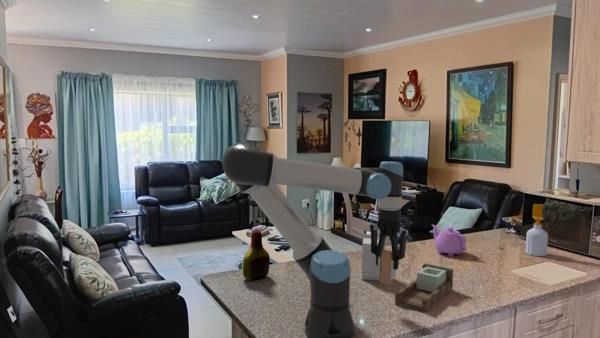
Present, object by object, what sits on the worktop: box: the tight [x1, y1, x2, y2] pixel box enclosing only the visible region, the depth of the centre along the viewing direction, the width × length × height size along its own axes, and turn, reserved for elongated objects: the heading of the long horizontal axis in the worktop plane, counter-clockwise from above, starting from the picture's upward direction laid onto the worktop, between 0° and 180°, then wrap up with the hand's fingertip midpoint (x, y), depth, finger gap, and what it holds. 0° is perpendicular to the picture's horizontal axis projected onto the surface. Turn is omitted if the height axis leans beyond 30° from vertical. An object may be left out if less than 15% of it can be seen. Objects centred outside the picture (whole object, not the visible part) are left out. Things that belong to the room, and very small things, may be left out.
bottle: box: [241, 228, 271, 281], centre depth 181 cm, size 12×6×20 cm, turn 120°
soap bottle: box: [525, 203, 549, 257], centre depth 217 cm, size 9×9×25 cm
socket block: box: [416, 267, 447, 292], centre depth 168 cm, size 9×8×6 cm
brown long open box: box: [394, 263, 454, 313], centre depth 163 cm, size 26×11×8 cm, turn 142°
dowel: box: [379, 248, 393, 286], centre depth 152 cm, size 4×4×11 cm
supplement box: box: [361, 237, 386, 282], centre depth 184 cm, size 9×9×15 cm
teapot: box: [431, 224, 467, 258], centre depth 218 cm, size 20×14×12 cm
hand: (386, 276), depth 152 cm, fingers closed on dowel, 4 cm apart
